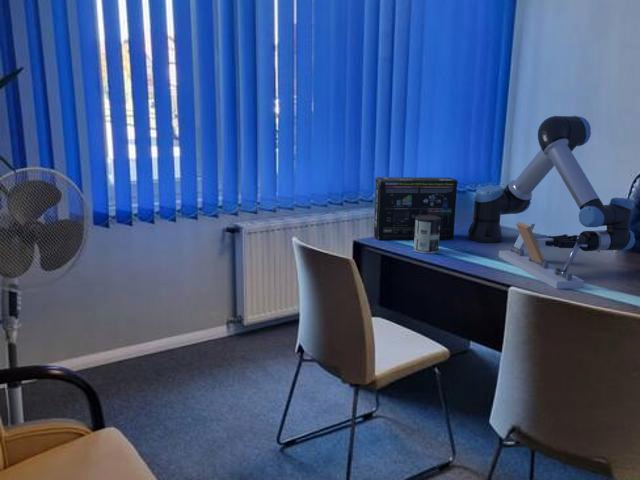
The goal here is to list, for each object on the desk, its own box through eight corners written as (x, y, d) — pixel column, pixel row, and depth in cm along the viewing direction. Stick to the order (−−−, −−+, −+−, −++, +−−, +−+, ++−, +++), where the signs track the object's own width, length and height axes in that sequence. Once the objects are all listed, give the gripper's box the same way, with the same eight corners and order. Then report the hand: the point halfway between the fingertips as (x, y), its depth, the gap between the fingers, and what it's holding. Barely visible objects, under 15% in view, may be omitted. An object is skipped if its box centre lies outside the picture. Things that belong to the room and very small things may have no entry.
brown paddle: (535, 259, 207) (519, 221, 202) (547, 264, 200) (530, 226, 195) (531, 261, 207) (515, 223, 202) (543, 267, 200) (526, 228, 195)
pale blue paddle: (514, 251, 220) (528, 222, 218) (521, 254, 216) (536, 225, 214) (510, 250, 220) (525, 220, 218) (517, 253, 215) (532, 223, 213)
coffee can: (436, 247, 234) (438, 214, 230) (440, 254, 224) (443, 220, 220) (411, 246, 234) (413, 214, 230) (415, 253, 224) (417, 219, 220)
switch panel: (521, 255, 224) (522, 244, 223) (583, 287, 187) (585, 274, 185) (498, 256, 222) (499, 245, 221) (556, 288, 185) (558, 275, 184)
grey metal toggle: (560, 275, 192) (581, 235, 190) (569, 279, 187) (590, 238, 185) (554, 272, 191) (574, 232, 189) (562, 276, 186) (583, 235, 184)
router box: (446, 234, 257) (451, 177, 251) (454, 240, 247) (460, 180, 240) (371, 234, 254) (373, 176, 247) (375, 240, 243) (378, 179, 236)
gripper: (604, 255, 200) (545, 257, 195) (580, 246, 212) (524, 248, 208) (607, 235, 198) (548, 237, 193) (583, 227, 211) (527, 228, 206)
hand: (536, 242), depth 201 cm, fingers closed
